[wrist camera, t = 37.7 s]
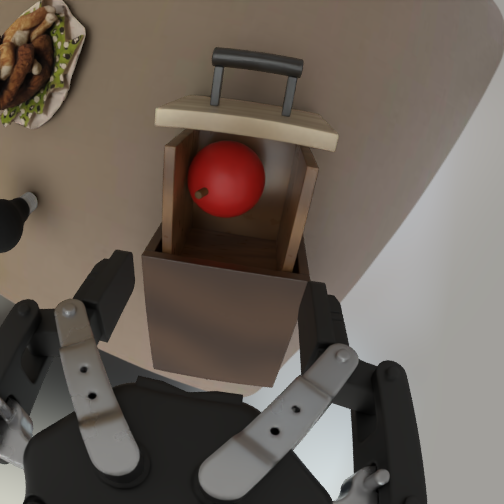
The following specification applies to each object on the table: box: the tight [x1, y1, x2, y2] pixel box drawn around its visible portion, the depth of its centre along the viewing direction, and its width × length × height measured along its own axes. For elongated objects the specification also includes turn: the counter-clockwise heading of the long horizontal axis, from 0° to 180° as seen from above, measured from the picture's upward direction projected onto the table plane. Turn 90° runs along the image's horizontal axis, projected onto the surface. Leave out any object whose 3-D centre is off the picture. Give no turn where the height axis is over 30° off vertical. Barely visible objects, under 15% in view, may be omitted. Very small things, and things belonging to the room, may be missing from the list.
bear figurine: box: [0, 0, 86, 129], centre depth 17 cm, size 14×15×12 cm
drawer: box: [155, 47, 339, 273], centre depth 24 cm, size 18×11×9 cm, turn 171°
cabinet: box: [142, 222, 310, 387], centre depth 31 cm, size 15×13×11 cm
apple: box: [187, 140, 265, 218], centre depth 24 cm, size 6×6×7 cm
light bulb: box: [0, 192, 38, 253], centre depth 28 cm, size 6×6×10 cm
